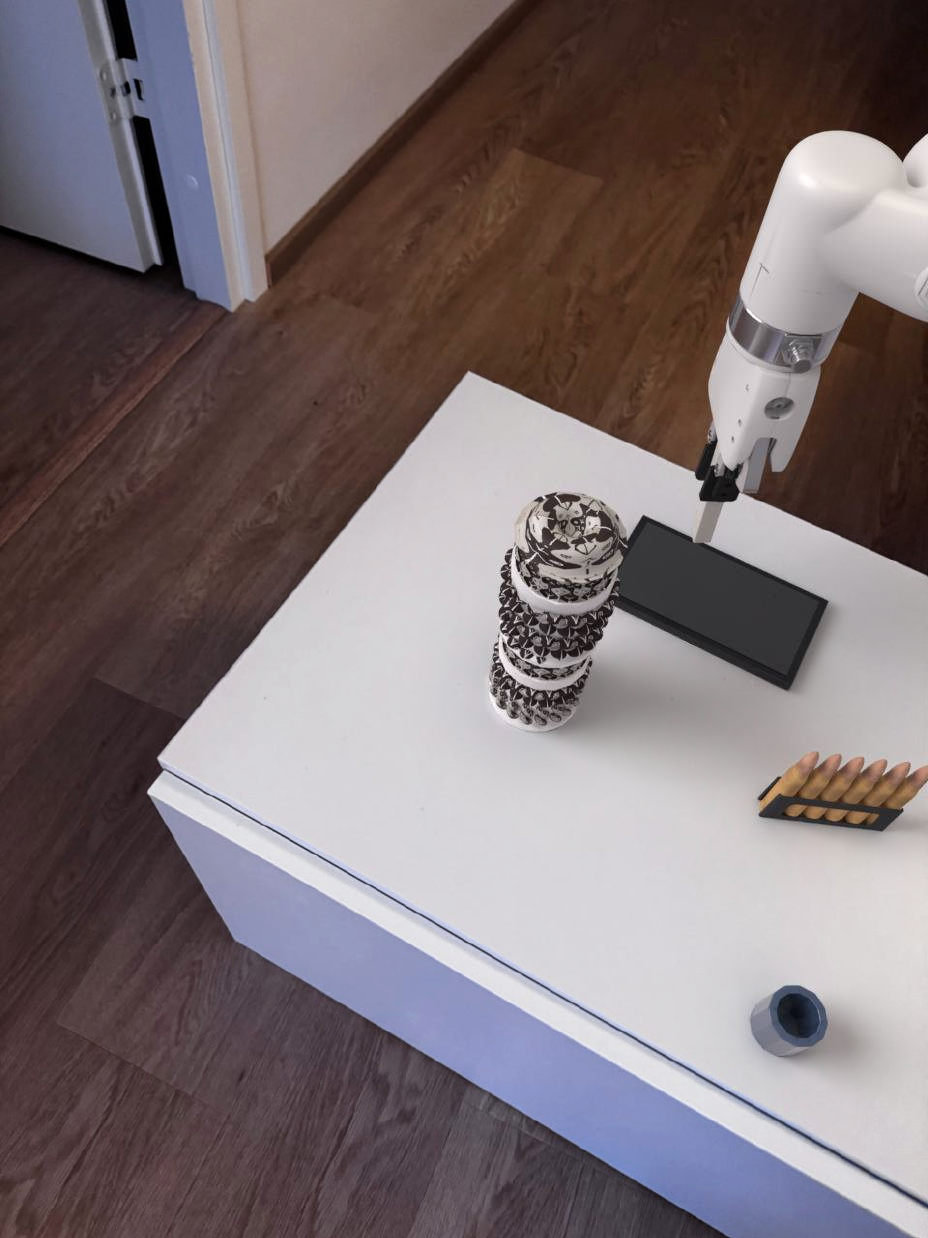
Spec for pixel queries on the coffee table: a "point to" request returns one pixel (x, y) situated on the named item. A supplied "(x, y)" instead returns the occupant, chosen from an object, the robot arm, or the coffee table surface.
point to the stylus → (706, 515)
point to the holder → (789, 1021)
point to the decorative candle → (554, 607)
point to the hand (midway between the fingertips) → (714, 487)
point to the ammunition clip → (842, 792)
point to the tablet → (717, 602)
